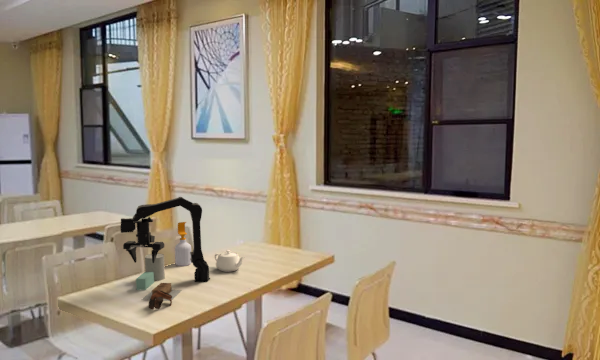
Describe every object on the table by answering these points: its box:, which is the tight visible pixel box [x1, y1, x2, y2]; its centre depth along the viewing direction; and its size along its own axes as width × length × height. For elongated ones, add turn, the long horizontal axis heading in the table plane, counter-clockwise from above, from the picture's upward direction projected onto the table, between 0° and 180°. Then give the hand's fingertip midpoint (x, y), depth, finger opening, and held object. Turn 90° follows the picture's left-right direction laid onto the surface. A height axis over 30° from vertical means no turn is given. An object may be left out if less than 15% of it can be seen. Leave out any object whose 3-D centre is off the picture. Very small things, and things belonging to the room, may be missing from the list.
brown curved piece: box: [147, 290, 173, 310], centre depth 209 cm, size 12×10×8 cm
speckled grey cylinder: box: [144, 252, 166, 282], centre depth 248 cm, size 10×10×12 cm
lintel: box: [135, 271, 155, 291], centre depth 236 cm, size 11×4×6 cm, turn 176°
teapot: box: [214, 249, 245, 273], centre depth 264 cm, size 22×14×11 cm, turn 55°
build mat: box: [141, 289, 182, 302], centre depth 224 cm, size 14×14×1 cm
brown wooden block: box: [151, 286, 167, 299], centre depth 221 cm, size 5×5×4 cm
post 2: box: [156, 282, 173, 294], centre depth 227 cm, size 5×5×4 cm
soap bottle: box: [174, 221, 192, 267], centre depth 274 cm, size 9×9×25 cm
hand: (144, 262), depth 236 cm, fingers open, 9 cm apart
